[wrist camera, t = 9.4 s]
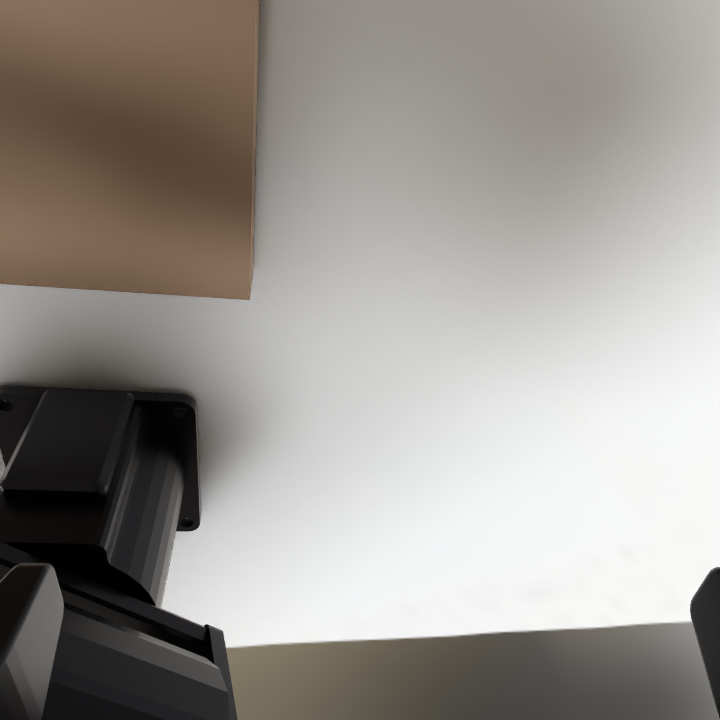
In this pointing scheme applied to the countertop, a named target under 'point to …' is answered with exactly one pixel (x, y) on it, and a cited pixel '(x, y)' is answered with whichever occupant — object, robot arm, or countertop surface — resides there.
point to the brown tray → (129, 145)
